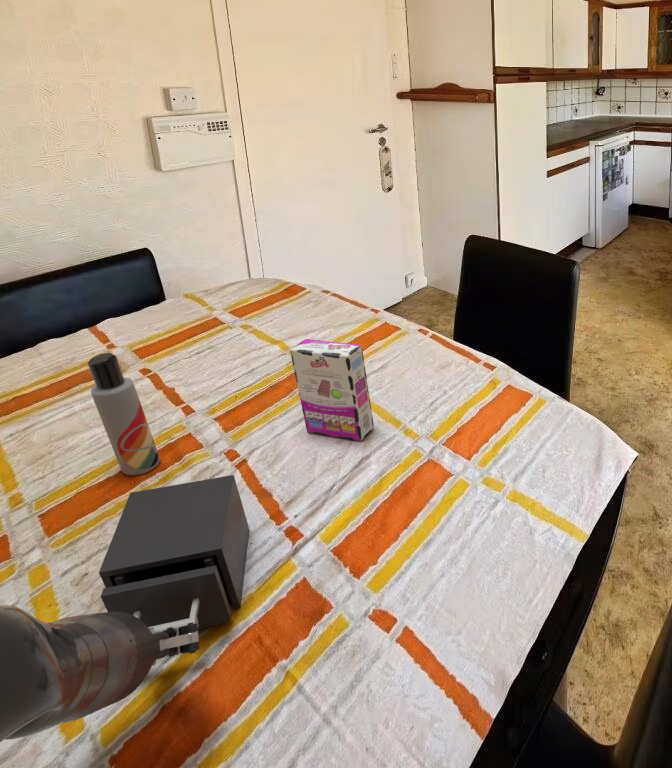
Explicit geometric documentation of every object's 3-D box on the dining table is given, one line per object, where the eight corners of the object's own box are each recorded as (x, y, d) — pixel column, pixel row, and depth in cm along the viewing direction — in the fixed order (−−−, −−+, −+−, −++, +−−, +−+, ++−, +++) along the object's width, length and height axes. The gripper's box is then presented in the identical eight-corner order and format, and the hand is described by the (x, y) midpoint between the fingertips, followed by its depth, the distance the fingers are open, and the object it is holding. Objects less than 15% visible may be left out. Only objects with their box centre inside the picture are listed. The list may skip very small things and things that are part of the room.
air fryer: (240, 607, 76) (221, 548, 71) (126, 632, 73) (98, 572, 68) (249, 529, 88) (233, 474, 84) (152, 548, 85) (130, 492, 81)
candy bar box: (375, 427, 111) (363, 344, 103) (361, 442, 107) (348, 356, 99) (321, 418, 114) (305, 336, 106) (305, 432, 110) (287, 349, 102)
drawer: (227, 650, 69) (209, 601, 66) (113, 677, 67) (88, 627, 63) (241, 544, 84) (227, 498, 81) (148, 562, 82) (130, 516, 78)
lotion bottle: (161, 469, 101) (123, 359, 92) (122, 480, 99) (77, 368, 89) (159, 452, 106) (122, 345, 96) (121, 462, 103) (79, 353, 94)
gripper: (171, 596, 52) (223, 592, 68) (-13, 634, 49) (87, 621, 65) (177, 692, 50) (229, 665, 66) (-14, 739, 47) (90, 698, 63)
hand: (159, 643), depth 66 cm, fingers closed
